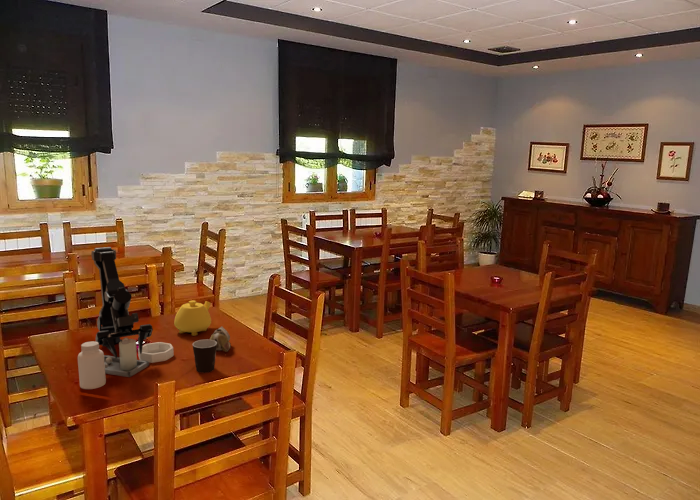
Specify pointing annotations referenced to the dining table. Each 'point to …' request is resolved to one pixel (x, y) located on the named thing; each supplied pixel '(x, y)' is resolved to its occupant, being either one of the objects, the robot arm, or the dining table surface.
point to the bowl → (156, 352)
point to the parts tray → (114, 366)
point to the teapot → (193, 317)
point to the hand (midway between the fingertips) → (129, 355)
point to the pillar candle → (127, 354)
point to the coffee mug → (204, 355)
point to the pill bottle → (91, 366)
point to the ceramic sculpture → (221, 339)
